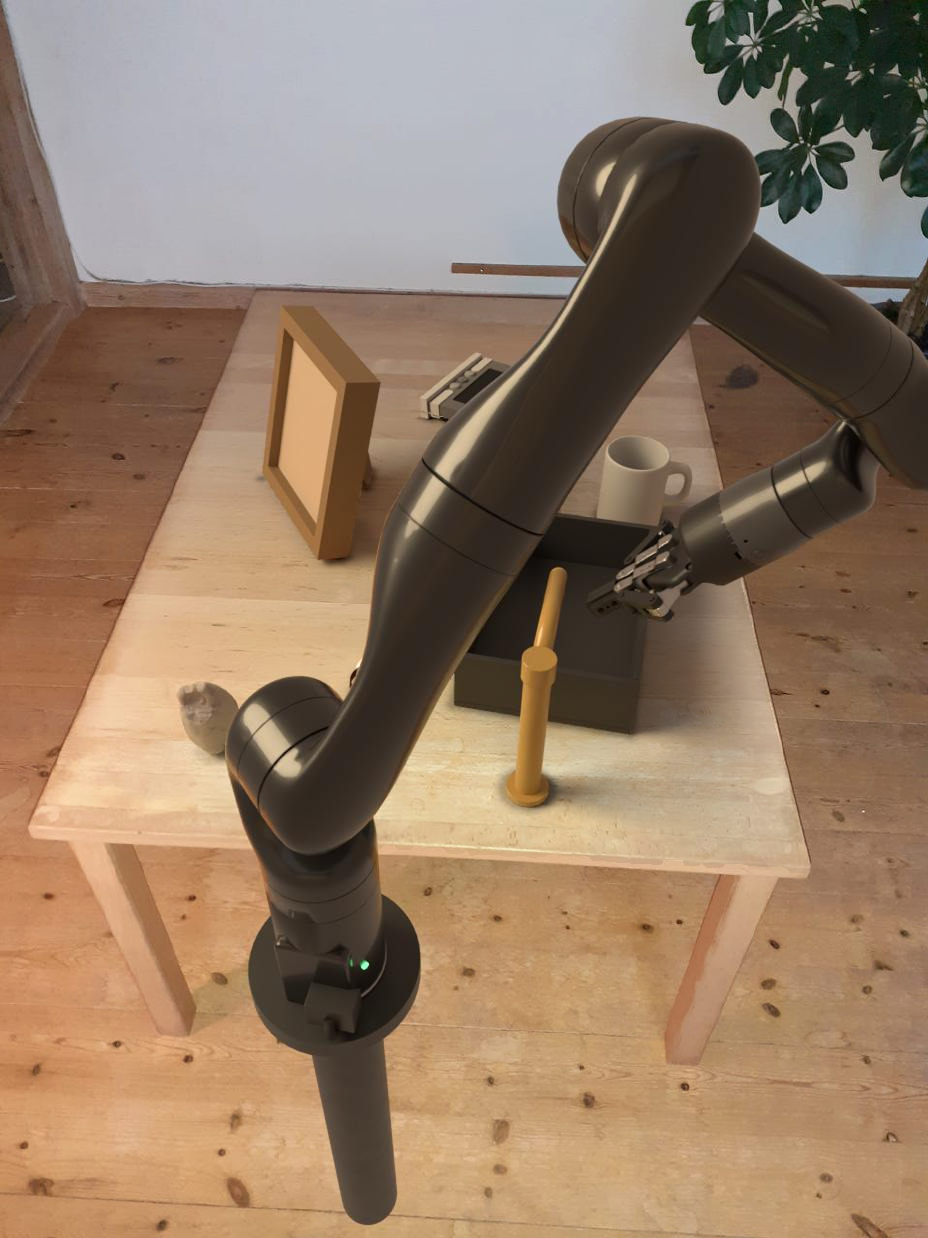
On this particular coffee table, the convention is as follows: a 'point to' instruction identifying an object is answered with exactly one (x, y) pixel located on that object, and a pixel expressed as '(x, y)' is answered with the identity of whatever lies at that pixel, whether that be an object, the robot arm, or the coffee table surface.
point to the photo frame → (319, 430)
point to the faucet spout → (545, 636)
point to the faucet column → (530, 750)
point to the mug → (639, 481)
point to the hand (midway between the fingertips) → (591, 607)
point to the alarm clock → (460, 386)
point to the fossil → (206, 714)
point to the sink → (564, 631)
